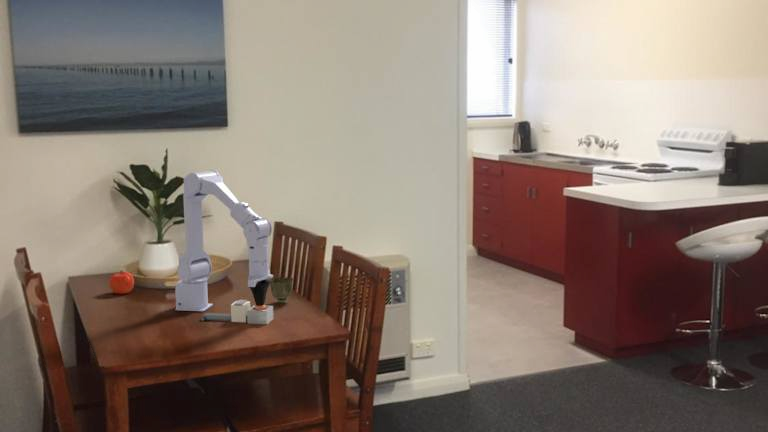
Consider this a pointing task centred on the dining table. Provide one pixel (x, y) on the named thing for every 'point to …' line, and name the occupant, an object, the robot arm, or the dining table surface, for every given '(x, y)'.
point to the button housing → (260, 315)
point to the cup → (281, 289)
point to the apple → (121, 283)
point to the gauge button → (260, 307)
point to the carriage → (239, 310)
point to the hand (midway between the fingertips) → (260, 305)
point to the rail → (216, 317)
